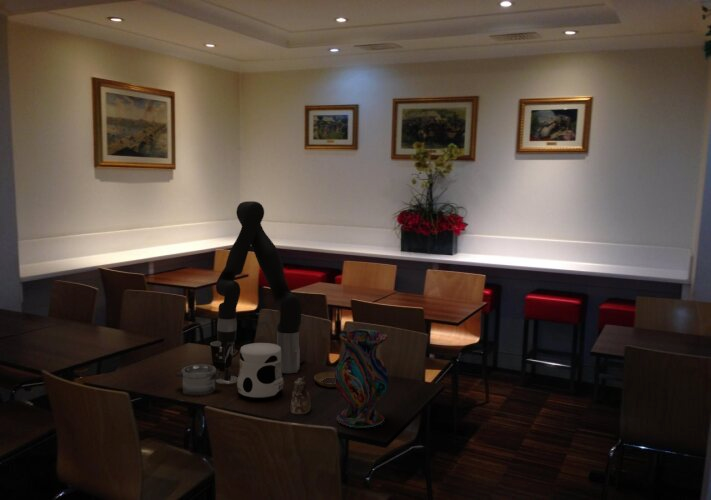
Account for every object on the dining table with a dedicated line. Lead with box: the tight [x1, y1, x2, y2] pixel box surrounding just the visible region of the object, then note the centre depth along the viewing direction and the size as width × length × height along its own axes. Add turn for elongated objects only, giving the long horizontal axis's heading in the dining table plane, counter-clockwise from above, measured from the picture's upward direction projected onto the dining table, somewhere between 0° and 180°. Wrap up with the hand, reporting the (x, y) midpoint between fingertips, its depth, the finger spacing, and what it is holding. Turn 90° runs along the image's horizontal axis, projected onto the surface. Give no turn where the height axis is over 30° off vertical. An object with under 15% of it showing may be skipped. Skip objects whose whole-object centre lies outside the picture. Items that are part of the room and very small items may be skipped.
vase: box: [335, 328, 390, 429], centre depth 211 cm, size 18×18×30 cm
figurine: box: [290, 375, 312, 415], centre depth 219 cm, size 7×7×12 cm
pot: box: [175, 363, 223, 397], centre depth 236 cm, size 17×12×8 cm
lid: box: [215, 368, 238, 385], centre depth 249 cm, size 9×9×4 cm
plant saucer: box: [313, 371, 337, 388], centre depth 250 cm, size 15×15×3 cm
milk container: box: [236, 342, 284, 400], centre depth 233 cm, size 17×17×18 cm
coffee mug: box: [210, 340, 241, 369], centre depth 266 cm, size 12×9×10 cm
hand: (225, 368), depth 248 cm, fingers open, 8 cm apart
